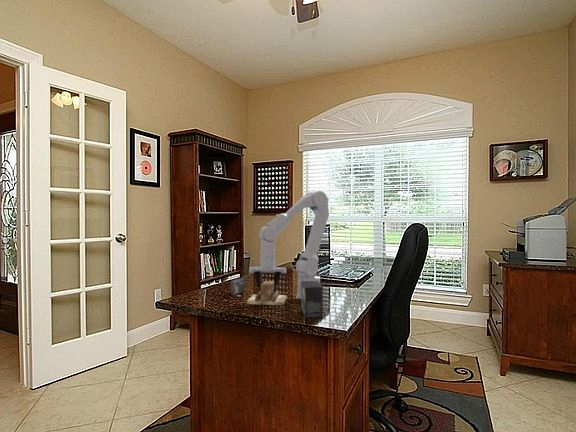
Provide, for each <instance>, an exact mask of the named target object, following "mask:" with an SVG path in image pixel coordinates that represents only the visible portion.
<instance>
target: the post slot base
mask: <svg viewBox="0 0 576 432" xmlns="http://www.w3.org/2000/svg"><path fill="white" fill-rule="evenodd" d="M287 298H288V295H285V294H280V291H279V290H276V292H274V296H273V297H272V300H271V301H261V291H258V293H257V294H255V293H254V294H252V295H251V296H250V298H248V300H247V301H246V305H262V306H264V305H269V306H284V304H285V302H286V300H287Z"/></svg>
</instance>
